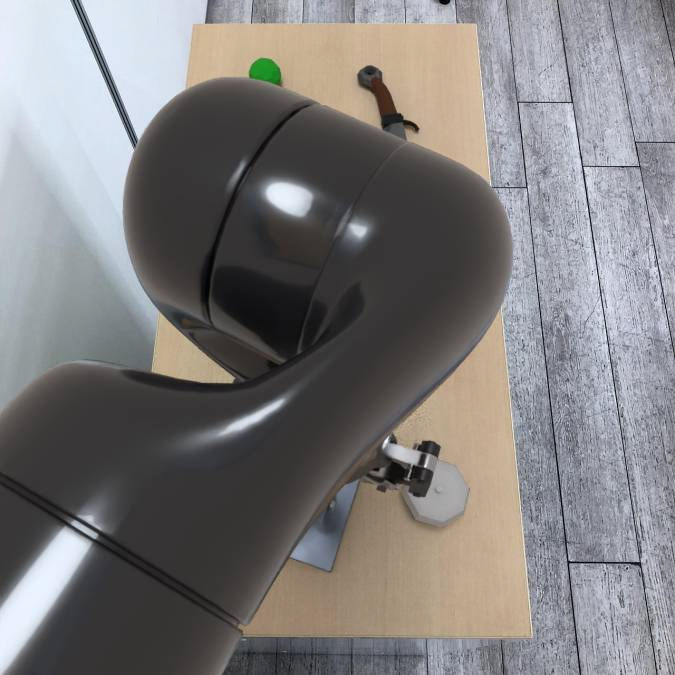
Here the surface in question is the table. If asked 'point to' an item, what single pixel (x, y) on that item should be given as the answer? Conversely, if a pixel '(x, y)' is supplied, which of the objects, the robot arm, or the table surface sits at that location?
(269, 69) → the polyhedron
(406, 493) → the grey octagonal prism
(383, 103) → the knife
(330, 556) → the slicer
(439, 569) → the table surface
